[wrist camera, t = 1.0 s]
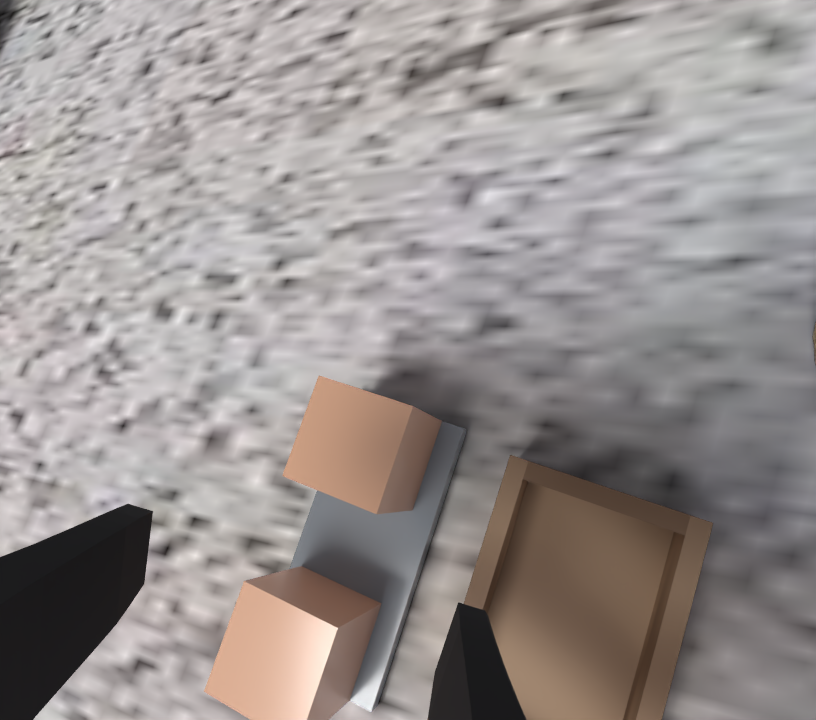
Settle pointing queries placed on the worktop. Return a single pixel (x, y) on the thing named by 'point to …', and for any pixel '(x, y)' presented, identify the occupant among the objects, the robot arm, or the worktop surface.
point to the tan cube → (362, 447)
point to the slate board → (379, 556)
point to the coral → (815, 340)
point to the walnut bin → (586, 594)
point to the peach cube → (292, 647)
